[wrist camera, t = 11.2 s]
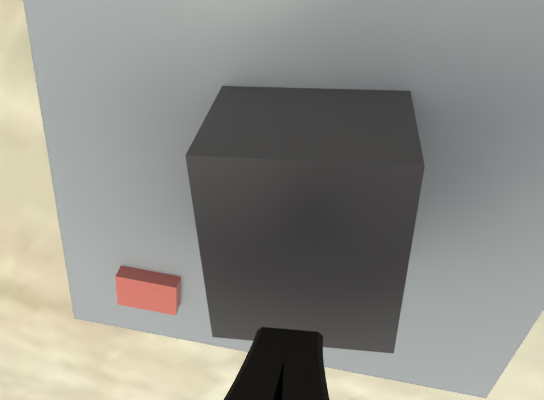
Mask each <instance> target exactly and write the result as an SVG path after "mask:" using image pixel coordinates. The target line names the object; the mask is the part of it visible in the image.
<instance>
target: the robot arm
mask: <svg viewBox="0 0 544 400" xmlns="http://www.w3.org/2000/svg"><path fill="white" fill-rule="evenodd" d="M224 400H329V396H328V390H327V384H326V377H325V370H324V360H323V335H321V334H320V333H319V332H316V331H304V330H292V329H281V328H269V327H261V328H260V329H258V330H257V332H256V335H255V338H254V340H253V343H252V345H251V347H250V350H249V352H248V354H247V356H246V359H245V361H244V363H243V365H242V367H241V369H240V371H239V373H238V375H237V377H236V379H235V381H234V382H233V384H232V386H231V388H230V390H229V391H228V393H227V395H226V397H225V398H224Z"/></svg>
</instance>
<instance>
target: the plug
mask: <svg viewBox="0 0 544 400" xmlns="http://www.w3.org/2000/svg"><path fill="white" fill-rule="evenodd" d="M185 157H186V164H187V170H188V177H189V184H190V190H191V197H192V204H193V210H194V217H195V224H196V230H197V237H198V244H199V251H200V257H201V264H202V271H203V277H204V284H205V291H206V297H207V304H208V311H209V318H210V324H211V331H212V337H217V338H228V339H239V340H250V341H253V340H254V338H255V335H256V332H257V330H258V329H260V328H261V327H269V328H281V329H292V330H304V331H316V332H319V333H320V334H321V335H323V347H327V348H338V349H349V350H360V351H371V352H382V353H393V354H394V349H395V343H396V337H397V331H398V325H399V319H400V313H401V307H402V301H403V295H404V288H405V282H406V276H407V270H408V264H409V258H410V252H411V246H412V240H413V234H414V228H415V222H416V216H417V210H418V204H419V198H420V192H421V186H422V180H423V174H424V168H425V165H424V160H423V154H422V149H421V144H420V139H419V133H418V128H417V123H416V118H415V112H414V107H413V102H412V97H411V91H397V90H359V89H321V88H284V87H246V86H222V87H221V89H220V91H219V93H218V95H217V97H216V98H215V100H214V102H213V104H212V106H211V108H210V110H209V112H208V114H207V115H206V117H205V119H204V121H203V123H202V125H201V127H200V129H199V130H198V132H197V134H196V136H195V138H194V140H193V142H192V144H191V146H190V147H189V149H188V151H187V153H186V155H185Z"/></svg>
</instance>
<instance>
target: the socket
mask: <svg viewBox="0 0 544 400" xmlns="http://www.w3.org/2000/svg"><path fill="white" fill-rule="evenodd" d="M23 2H24V8H25V14H26V20H27V27H28V33H29V39H30V45H31V51H32V58H33V64H34V70H35V76H36V83H37V89H38V95H39V101H40V107H41V114H42V120H43V126H44V132H45V139H46V145H47V151H48V157H49V164H50V170H51V176H52V182H53V188H54V195H55V201H56V207H57V213H58V220H59V226H60V232H61V238H62V245H63V251H64V257H65V263H66V269H67V276H68V282H69V288H70V294H71V301H72V307H73V313H74V318H75V319H80V320H85V321H90V322H96V323H101V324H106V325H111V326H116V327H121V328H126V329H132V330H137V331H142V332H147V333H152V334H157V335H163V336H168V337H173V338H178V339H183V340H188V341H194V342H199V343H204V344H209V345H214V346H219V347H225V348H230V349H235V350H240V351H245V352H249V350H250V347H251V345H252V343H253V341H250V340H239V339H228V338H217V337H212V331H211V324H210V318H209V311H208V304H207V297H206V291H205V284H204V277H203V271H202V264H201V257H200V251H199V244H198V237H197V230H196V224H195V217H194V210H193V204H192V197H191V190H190V184H189V177H188V170H187V164H186V157H185V155H186V153H187V151H188V149H189V147H190V146H191V144H192V142H193V140H194V138H195V136H196V134H197V132H198V130H199V129H200V127H201V125H202V123H203V121H204V119H205V117H206V115H207V114H208V112H209V110H210V108H211V106H212V104H213V102H214V100H215V98H216V97H217V95H218V93H219V91H220V89H221V87H222V86H246V87H284V88H321V89H359V90H397V91H411V97H412V102H413V107H414V112H415V118H416V123H417V128H418V133H419V139H420V144H421V149H422V154H423V160H424V165H425V168H424V174H423V180H422V186H421V192H420V198H419V204H418V210H417V216H416V222H415V228H414V234H413V240H412V246H411V252H410V258H409V264H408V270H407V276H406V282H405V288H404V295H403V301H402V307H401V313H400V319H399V325H398V331H397V337H396V343H395V349H394V354H393V353H382V352H371V351H360V350H349V349H338V348H327V347H323V360H324V367H328V368H333V369H338V370H343V371H348V372H354V373H359V374H364V375H369V376H374V377H379V378H385V379H390V380H395V381H400V382H405V383H410V384H416V385H421V386H426V387H431V388H436V389H441V390H447V391H452V392H457V393H462V394H467V395H472V396H477V397H483V398H486V397H487V396H488V394H489V393H490V391H491V390H492V388H493V387H494V385H495V383H496V382H497V380H498V379H499V377H500V376H501V374H502V373H503V371H504V370H505V368H506V367H507V365H508V363H509V362H510V360H511V359H512V357H513V356H514V354H515V353H516V351H517V350H518V348H519V347H520V345H521V343H522V342H523V340H524V339H525V337H526V336H527V334H528V333H529V331H530V330H531V328H532V326H533V325H534V323H535V322H536V320H537V319H538V317H539V316H540V314H541V313H542V311H543V310H544V0H23Z"/></svg>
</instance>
